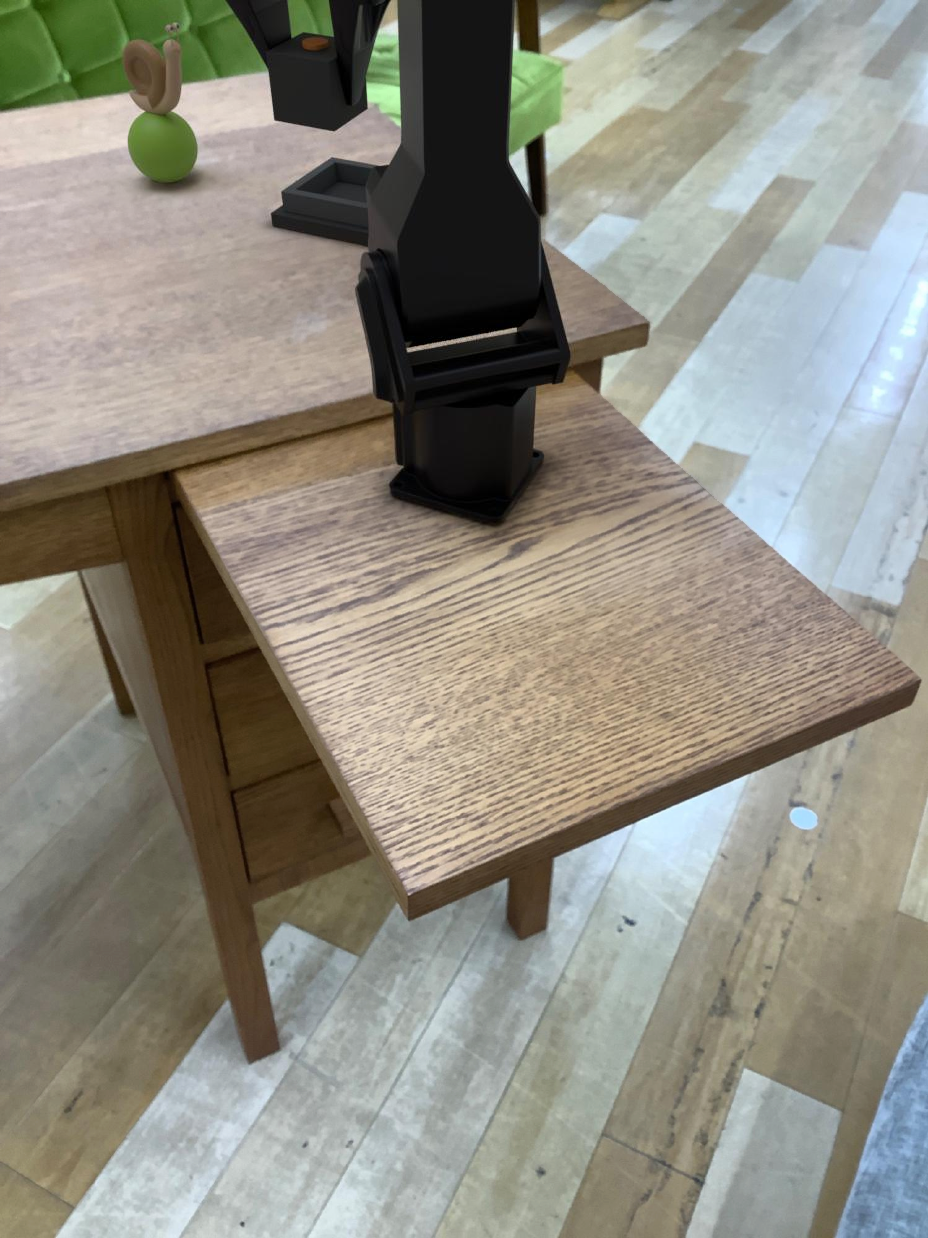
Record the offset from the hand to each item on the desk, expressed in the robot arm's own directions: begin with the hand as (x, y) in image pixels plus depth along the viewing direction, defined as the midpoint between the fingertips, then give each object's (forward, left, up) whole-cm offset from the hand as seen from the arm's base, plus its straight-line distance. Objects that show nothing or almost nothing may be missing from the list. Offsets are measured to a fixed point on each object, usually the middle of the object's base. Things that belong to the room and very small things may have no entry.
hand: (320, 97), depth 66 cm
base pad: (+4, -9, -11) cm, 15 cm away
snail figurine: (+20, -8, -12) cm, 25 cm away
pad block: (0, 0, -1) cm, 1 cm away
